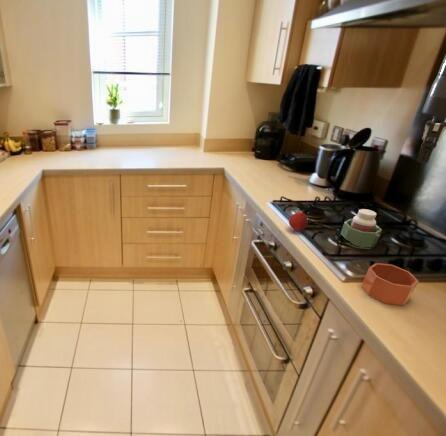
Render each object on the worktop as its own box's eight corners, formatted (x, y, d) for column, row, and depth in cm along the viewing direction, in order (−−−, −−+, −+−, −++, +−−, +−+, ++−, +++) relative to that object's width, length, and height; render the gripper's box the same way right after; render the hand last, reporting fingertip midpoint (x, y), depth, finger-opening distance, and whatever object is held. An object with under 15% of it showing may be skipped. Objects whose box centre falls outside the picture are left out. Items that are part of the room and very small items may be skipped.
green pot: (366, 235, 110) (372, 220, 107) (379, 250, 102) (386, 234, 99) (336, 233, 112) (341, 218, 109) (347, 247, 103) (352, 231, 101)
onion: (295, 225, 117) (301, 206, 113) (308, 233, 112) (314, 213, 108) (283, 228, 115) (288, 208, 111) (295, 236, 110) (301, 215, 107)
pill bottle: (371, 246, 103) (384, 216, 98) (351, 245, 104) (362, 215, 99) (361, 237, 109) (373, 208, 104) (342, 236, 110) (352, 207, 104)
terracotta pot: (395, 283, 87) (403, 265, 84) (415, 307, 79) (425, 288, 76) (356, 279, 89) (364, 261, 86) (372, 302, 81) (381, 283, 78)
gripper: (471, 98, 71) (440, 168, 78) (469, 92, 80) (441, 155, 87) (427, 97, 75) (401, 162, 83) (429, 91, 85) (406, 150, 92)
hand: (422, 158), depth 85 cm, fingers open, 8 cm apart
